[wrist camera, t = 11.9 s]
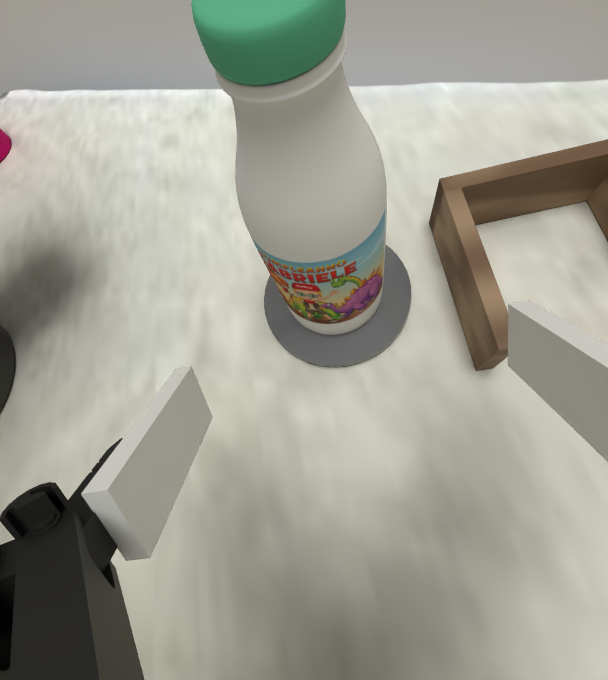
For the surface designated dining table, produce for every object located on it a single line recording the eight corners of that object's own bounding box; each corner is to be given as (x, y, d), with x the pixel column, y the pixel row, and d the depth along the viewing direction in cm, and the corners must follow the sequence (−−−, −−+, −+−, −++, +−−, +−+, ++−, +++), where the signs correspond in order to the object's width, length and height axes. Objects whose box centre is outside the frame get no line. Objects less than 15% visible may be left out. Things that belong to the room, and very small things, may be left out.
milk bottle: (288, 257, 30) (155, -65, 12) (378, 247, 29) (388, -134, 10) (288, 341, 28) (116, 95, 9) (387, 333, 26) (419, 29, 8)
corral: (429, 222, 30) (439, 178, 25) (596, 186, 28) (640, 131, 24) (476, 370, 25) (499, 349, 21) (680, 337, 24) (755, 306, 19)
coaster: (242, 294, 31) (238, 289, 30) (345, 215, 32) (344, 207, 31) (324, 398, 27) (323, 395, 26) (442, 302, 27) (445, 296, 27)
